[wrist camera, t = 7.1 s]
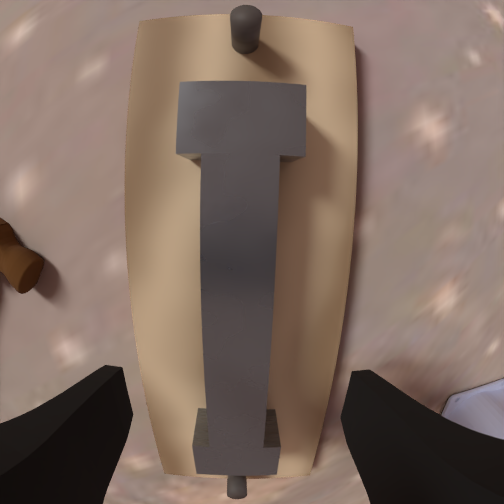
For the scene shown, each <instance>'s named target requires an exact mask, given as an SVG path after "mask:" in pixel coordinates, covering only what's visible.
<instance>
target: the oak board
mask: <svg viewBox="0 0 504 504" xmlns="http://www.w3.org/2000/svg"><path fill="white" fill-rule="evenodd" d="M187 81H260V82H278V83H291V84H302V85H306V157H304V158H301V159H299V160H296V161H293V162H280V171H279V200H278V225H277V248H276V269H275V288H274V306H273V323H272V339H271V355H270V369H269V383H268V397H267V409H275V411H276V417H277V424H278V430H279V437H280V443H281V451H280V458H279V464H278V471H277V475H259V476H232V475H207V474H196V468H195V462H194V456H193V449H192V443H193V436H194V430H195V424H196V418H197V412H198V408H206V396H205V381H204V363H203V343H202V319H201V283H200V180H201V160H189V159H187V158H184V157H182V156H180V155H177V154H176V133H177V114H178V98H179V85H180V82H187ZM357 147H358V113H357V79H356V60H355V46H354V34H353V27H350V26H345V25H340V24H334V23H329V22H322V21H316V20H308V19H300V18H291V17H281V16H267V15H262V13H261V12H260V10H259V9H257V8H256V7H254V6H251V5H242V6H238V7H236V8H235V9H233V10H232V12H231V14H216V15H193V16H179V17H169V18H160V19H152V20H145V21H140V22H139V27H138V33H137V39H136V45H135V52H134V59H133V66H132V74H131V83H130V92H129V103H128V115H127V130H126V150H125V231H126V251H127V266H128V279H129V290H130V300H131V309H132V318H133V325H134V333H135V340H136V347H137V353H138V359H139V365H140V371H141V377H142V382H143V387H144V392H145V397H146V402H147V407H148V411H149V416H150V420H151V424H152V429H153V433H154V437H155V441H156V444H157V448H158V452H159V456H160V459H161V463H162V466H163V470H164V473H165V474H173V475H183V476H193V477H207V478H227V496H228V497H230V498H232V499H242V498H245V497H246V496H247V482H246V479H259V478H283V477H297V476H308V475H310V472H311V469H312V465H313V462H314V458H315V454H316V450H317V447H318V443H319V439H320V435H321V431H322V427H323V423H324V418H325V414H326V410H327V405H328V401H329V396H330V391H331V387H332V382H333V377H334V371H335V366H336V361H337V355H338V350H339V344H340V338H341V331H342V325H343V318H344V312H345V304H346V297H347V289H348V281H349V272H350V263H351V253H352V243H353V231H354V217H355V202H356V182H357Z"/></svg>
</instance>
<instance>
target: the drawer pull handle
mask: <svg viewBox="0 0 504 504" xmlns="http://www.w3.org/2000/svg"><path fill="white" fill-rule="evenodd" d="M176 154H177V155H180V156H182V157H184V158H187V159H189V160H201V180H200V283H201V319H202V343H203V363H204V381H205V396H206V408H198V412H197V418H196V424H195V430H194V436H193V443H192V449H193V456H194V462H195V468H196V474H207V475H232V476H259V475H277V471H278V464H279V458H280V451H281V443H280V437H279V430H278V424H277V417H276V411H275V409H267V397H268V383H269V369H270V355H271V339H272V323H273V306H274V288H275V269H276V248H277V225H278V200H279V171H280V162H293V161H296V160H299V159H301V158H304V157H306V85H302V84H291V83H278V82H260V81H187V82H180V85H179V98H178V114H177V133H176Z"/></svg>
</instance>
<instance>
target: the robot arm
mask: <svg viewBox="0 0 504 504" xmlns="http://www.w3.org/2000/svg"><path fill="white" fill-rule="evenodd" d="M132 417H133V411H132V407H131V403H130V399H129V395H128V391H127V386H126V382H125V377H124V373H123V368H122V367H116V366H109V365H105V366H103V367H101V368H99V369H98V370H96V371H95V372H93V373H92V374H90V375H89V376H87V377H85V378H84V379H82V380H81V381H79V382H78V383H76V384H75V385H73V386H72V387H70V388H69V389H67V390H66V391H64V392H63V393H61V394H59V395H58V396H56V397H54V398H53V399H51V400H49V401H47V402H46V403H44V404H42V405H40V406H39V407H37V408H35V409H33V410H31V411H29V412H27V413H25V414H23V415H20V416H18V417H16V418H13V419H11V420H9V421H6V422H3V423H0V504H103V501H104V497H105V494H106V491H107V488H108V486H109V483H110V481H111V478H112V476H113V473H114V471H115V468H116V466H117V463H118V461H119V458H120V456H121V453H122V451H123V448H124V446H125V443H126V440H127V437H128V434H129V430H130V426H131V421H132ZM341 421H342V426H343V430H344V434H345V438H346V442H347V445H348V447H349V450H350V452H351V455H352V457H353V460H354V462H355V465H356V467H357V470H358V472H359V474H360V477H361V479H362V482H363V484H364V487H365V489H366V492H367V494H368V497H369V500H370V504H504V378H503V379H500V380H498V381H495V382H492V383H489V384H486V385H483V386H480V387H477V388H474V389H471V390H468V391H465V392H461V393H458V394H454V395H452V396H451V397H450V398H449V399H448V401H447V403H446V406H445V408H444V410H443V412H442V414H441V415H439V414H437V413H436V412H434V411H432V410H430V409H428V408H427V407H425V406H424V405H422V404H420V403H419V402H417V401H416V400H414V399H412V398H411V397H409V396H408V395H406V394H405V393H403V392H402V391H400V390H399V389H398V388H396V387H395V386H393V385H392V384H390V383H389V382H387V381H386V380H385V379H383V378H382V377H380V376H379V375H377V374H376V373H374V372H372V371H371V370H360V371H352V373H351V378H350V382H349V386H348V390H347V394H346V398H345V402H344V406H343V410H342V414H341Z"/></svg>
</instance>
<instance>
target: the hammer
mask: <svg viewBox="0 0 504 504" xmlns="http://www.w3.org/2000/svg"><path fill="white" fill-rule="evenodd" d="M43 264H44V261H43V259H42V258H41V257H39V256H38V255H37V254H36V253H35V252H33V251H32V250H30V249H28V248H25V247H22V246H21V245H20V244H19V243H18V241H17V239H16V238H15V235H14V232H13V230H12V228H11V227H10V225H9V224H8V223H7V222H6V221H4V220H3V219H2V218H0V272H2V273H3V274H4V275H5V276H6V278H7V280H8V281H9V283H10V284H11V285H12V286H13V287H14V288H15V289H16V290H17V291H18V292H19V293H21V294H24V293H26V292H28V291H30V290H31V289H32V288H33V287H34V286H35V284H36V283H37V281H38V279H39V276H40V273H41V271H42V268H43Z"/></svg>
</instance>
